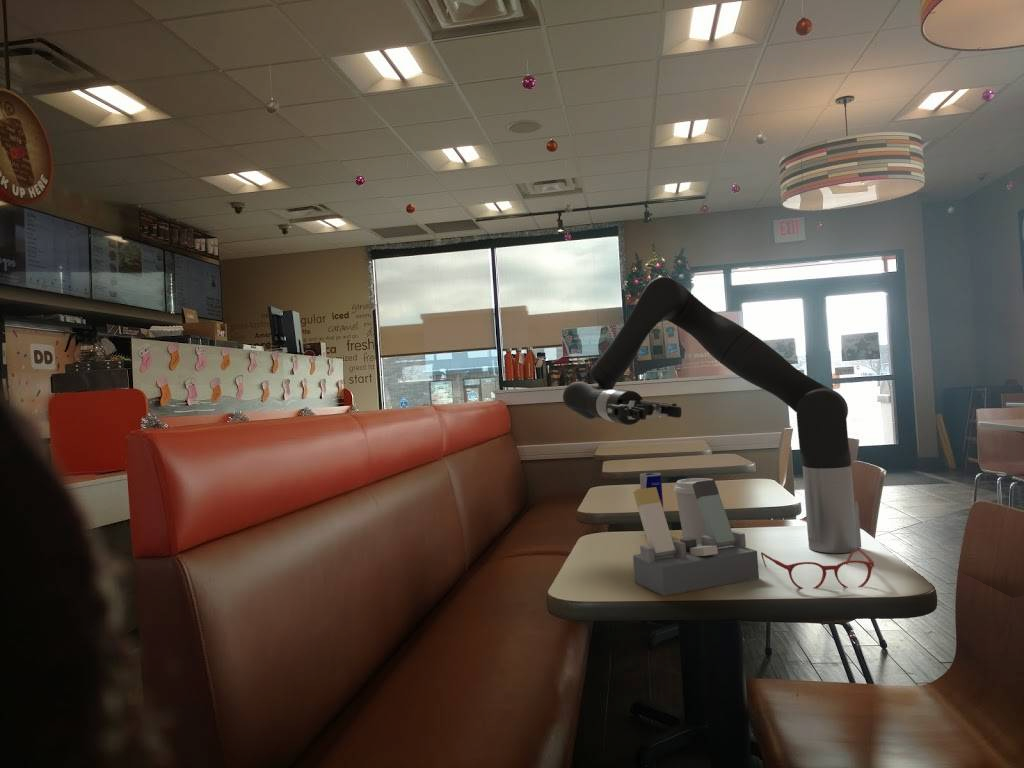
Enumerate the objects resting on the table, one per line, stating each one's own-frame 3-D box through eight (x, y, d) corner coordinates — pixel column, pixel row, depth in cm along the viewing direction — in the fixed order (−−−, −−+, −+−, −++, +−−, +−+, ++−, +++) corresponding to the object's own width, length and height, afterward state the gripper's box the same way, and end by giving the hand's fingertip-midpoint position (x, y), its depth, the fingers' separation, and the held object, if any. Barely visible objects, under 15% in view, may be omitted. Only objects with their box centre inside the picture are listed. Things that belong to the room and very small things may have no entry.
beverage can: (661, 537, 161) (656, 474, 161) (641, 536, 163) (636, 474, 164) (667, 532, 165) (663, 471, 165) (647, 531, 168) (643, 471, 168)
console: (726, 565, 132) (723, 527, 132) (760, 577, 122) (757, 536, 123) (633, 582, 125) (630, 542, 125) (662, 596, 116) (659, 552, 116)
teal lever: (732, 545, 127) (711, 482, 133) (738, 543, 126) (715, 479, 131) (711, 549, 126) (690, 485, 131) (716, 547, 124) (694, 482, 129)
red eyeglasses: (779, 593, 114) (777, 563, 115) (758, 568, 130) (756, 542, 130) (887, 590, 112) (885, 560, 112) (852, 565, 128) (850, 538, 128)
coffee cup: (721, 544, 150) (717, 476, 150) (724, 554, 141) (719, 483, 141) (677, 544, 152) (673, 478, 152) (677, 555, 143) (672, 484, 143)
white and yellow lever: (673, 555, 123) (653, 489, 128) (678, 553, 122) (657, 486, 127) (650, 559, 122) (631, 492, 127) (655, 557, 120) (635, 489, 125)
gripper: (591, 390, 147) (632, 396, 133) (646, 388, 153) (691, 393, 138) (591, 424, 148) (632, 433, 133) (646, 421, 153) (691, 429, 139)
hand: (662, 413), depth 136 cm, fingers open, 8 cm apart
